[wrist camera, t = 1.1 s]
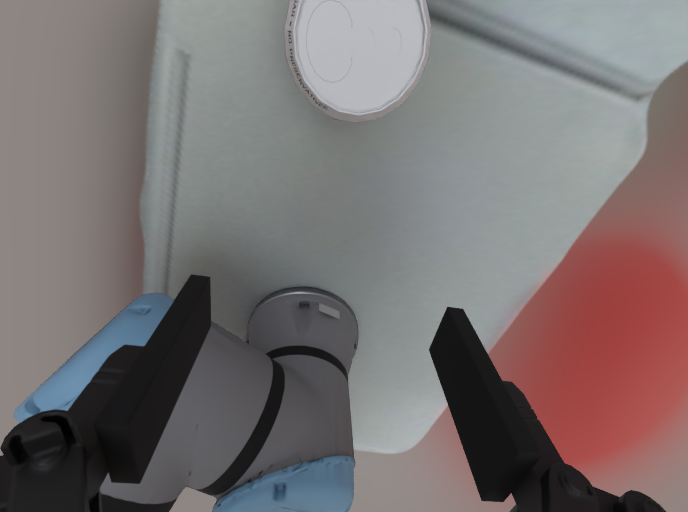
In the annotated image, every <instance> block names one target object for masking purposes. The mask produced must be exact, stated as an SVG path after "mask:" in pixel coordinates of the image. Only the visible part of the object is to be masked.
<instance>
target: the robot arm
mask: <svg viewBox="0 0 688 512" xmlns="http://www.w3.org/2000/svg"><path fill="white" fill-rule="evenodd" d="M246 341H247V343H246V342H245V341H243V340H241V339H240V338H238V337H237V336H235V335H233V334H232V333H230V332H229V331H227V330H225V329H224V328H222V327H221V326H219V325H217V324H216V323H214V322H213V321H211V296H210V277H206V276H198V275H191V276H190V277H189V279H188V280H187V282H186V283H185V285H184V286H183V288H182V289H181V291H180V293H179V294H178V296H177V297H176V299H175V300H174V299H172V298H170V297H169V296H167V295H164V294H160V293H149V294H145V295H142V296H140V297H138V298H136V299H135V300H134V301H132V302H131V303H130V304H129V305H128V306H127V307H125V308H124V309H123V310H122V311H121V312H120V313H119V314H118V315H116V316H115V317H114V318H113V319H112V320H111V321H110V322H109V323H108V324H107V325H105V326H104V327H103V328H102V329H101V330H100V331H99V332H98V333H97V334H95V335H94V336H93V337H92V338H91V339H90V340H89V341H88V342H87V343H86V344H85V345H84V346H82V347H81V348H80V349H79V350H78V351H77V352H76V353H75V354H74V355H73V356H71V357H70V358H69V359H68V360H67V361H66V362H65V363H64V364H63V365H62V366H61V367H60V368H59V369H58V370H57V371H56V372H55V373H53V374H52V375H51V376H50V377H49V378H48V379H47V380H46V381H45V382H44V383H43V384H41V385H40V386H39V387H38V388H37V389H36V390H35V391H34V392H33V393H32V394H31V395H30V396H29V397H27V398H26V400H24V401H23V402H22V403H21V404H20V405H19V406H18V407H17V408H16V409H15V411H14V414H13V416H14V418H15V419H16V420H17V421H18V422H19V424H18V425H17V426H15V427H14V428H13V429H12V430H11V432H10V433H9V434H8V435H7V436H6V437H5V439H4V441H3V443H2V445H1V450H2V452H3V454H4V455H3V456H0V512H169V511H170V509H171V508H172V506H173V504H174V503H175V501H176V499H177V498H178V496H179V495H180V493H181V492H182V490H183V489H184V488H185V487H189V488H192V489H195V490H198V491H200V492H203V493H206V494H208V495H211V496H213V497H215V498H216V499H217V501H216V503H215V505H214V507H213V510H212V512H348V511H349V510H350V508H351V505H352V501H353V496H354V479H353V478H354V467H355V459H354V450H353V438H352V425H351V413H350V400H349V388H348V373H349V370H350V367H351V364H352V358H353V357H354V354H355V352H356V349H357V345H358V325H357V320H356V317H355V315H354V313H353V312H352V310H351V309H350V307H349V306H348V305H347V304H346V303H345V302H344V301H343V300H341V299H340V298H338V297H337V296H335V295H333V294H331V293H329V292H326V291H324V290H320V289H316V288H309V287H294V288H288V289H284V290H280V291H277V292H275V293H273V294H271V295H269V296H267V297H266V298H265V299H263V300H262V301H261V302H260V303H259V304H258V305H257V306H256V307H255V309H254V310H253V312H252V314H251V317H250V320H249V323H248V327H247V335H246ZM429 351H430V354H431V357H432V360H433V363H434V366H435V369H436V371H437V374H438V377H439V380H440V383H441V386H442V389H443V391H444V394H445V397H446V400H447V403H448V406H449V408H450V411H451V414H452V417H453V420H454V423H455V425H456V429H457V431H458V434H459V437H460V440H461V443H462V445H463V449H464V451H465V454H466V457H467V460H468V463H469V466H470V469H471V472H472V474H473V477H474V480H475V483H476V486H477V489H478V492H479V494H480V497H481V500H482V501H494V502H504V501H505V499H506V498H507V497H508V496H509V495H510V493H512V495H513V497H514V500H515V502H516V505H515V506H514V507H513V509H511V511H510V512H666V511H665V510H664V509H663V508H662V507H661V506H660V505H659V504H658V503H656V502H655V501H654V500H652V499H651V498H650V497H648V496H646V495H645V494H643V493H641V492H637V491H632V490H630V491H628V492H626V493H625V494H623V495H622V496H621V497H618V496H615V495H613V494H610V493H608V492H605V491H603V490H600V489H598V488H595V487H592V485H591V484H590V482H589V481H588V479H587V478H586V477H585V476H584V475H583V474H582V473H581V472H579V471H578V470H576V469H575V468H573V467H572V466H570V465H568V464H565V463H564V461H563V460H562V458H561V457H560V455H559V453H558V452H557V450H556V448H555V447H554V445H553V443H552V442H551V440H550V438H549V436H548V435H547V433H546V431H545V430H544V428H543V426H542V424H541V423H540V421H539V420H537V416H536V414H535V413H534V411H533V409H531V406H530V404H529V403H528V401H527V399H526V397H525V396H524V394H523V393H522V392H521V391H520V390H519V389H518V388H517V387H516V386H515V385H514V384H513V383H512V382H508V381H502V380H501V378H500V376H499V374H498V372H497V370H496V369H495V367H494V365H493V363H492V361H491V359H490V358H489V356H488V354H487V352H486V350H485V348H484V347H483V345H482V343H481V341H480V339H479V337H478V336H477V334H476V332H475V330H474V328H473V326H472V325H471V323H470V321H469V319H468V317H467V315H466V314H465V312H464V310H463V309H459V308H451V307H447V309H446V311H445V314H444V316H443V318H442V321H441V323H440V325H439V328H438V330H437V332H436V335H435V337H434V339H433V342H432V344H431V346H430V349H429Z"/></svg>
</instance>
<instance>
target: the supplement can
mask: <svg viewBox="0 0 688 512" xmlns="http://www.w3.org/2000/svg"><path fill="white" fill-rule="evenodd" d="M284 33H285V46H286V58H287V62H288V65H289V67H290V70H291V72H292V75H293V77H294V80H295V82H296V85H297V87H298V88H299V89H300V90H301V92H302V93H303V94H304V95H305V96H306V98H307V99H308V100H309V101H310V102H311V104H312V105H313V106H314V107H315V108H317V109H319V110H320V111H322V112H324V113H326V114H327V115H329V116H331V117H332V118H334V119H338V120H344V121H349V122H355V123H359V122H364V121H369V120H374V119H379V118H381V117H383V116H384V115H386V114H388V113H389V112H391V111H392V110H394V109H396V108H397V107H399V106H401V104H402V103H403V102H404V101H405V100H406V98H407V97H408V96H409V95H410V94H411V92H412V91H413V90H414V89H415V88H416V86H417V85H418V83H419V80H420V78H421V75H422V73H423V71H424V68H425V66H426V63H427V61H428V58H429V48H430V38H431V23H430V18H429V13H428V8H427V3H426V0H291V1H290V5H289V10H288V14H287V19H286V23H285V28H284Z"/></svg>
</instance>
